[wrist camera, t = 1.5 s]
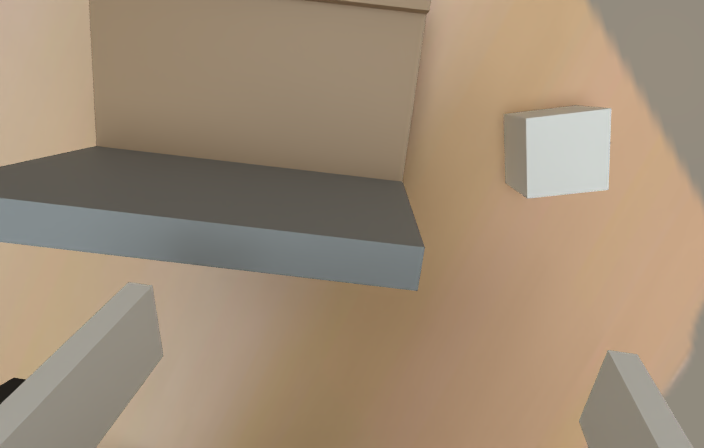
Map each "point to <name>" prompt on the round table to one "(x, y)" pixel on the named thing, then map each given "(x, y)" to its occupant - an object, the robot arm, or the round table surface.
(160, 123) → the board
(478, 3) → the round table surface
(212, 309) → the round table surface
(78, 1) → the round table surface
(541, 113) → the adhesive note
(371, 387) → the round table surface
